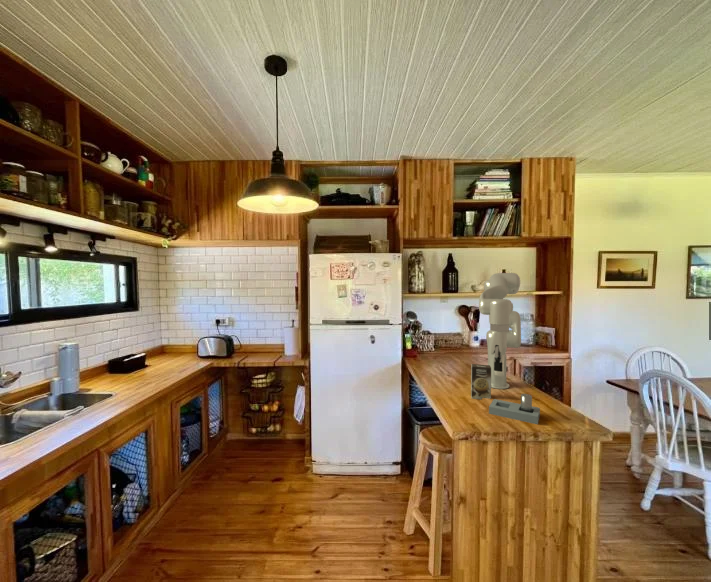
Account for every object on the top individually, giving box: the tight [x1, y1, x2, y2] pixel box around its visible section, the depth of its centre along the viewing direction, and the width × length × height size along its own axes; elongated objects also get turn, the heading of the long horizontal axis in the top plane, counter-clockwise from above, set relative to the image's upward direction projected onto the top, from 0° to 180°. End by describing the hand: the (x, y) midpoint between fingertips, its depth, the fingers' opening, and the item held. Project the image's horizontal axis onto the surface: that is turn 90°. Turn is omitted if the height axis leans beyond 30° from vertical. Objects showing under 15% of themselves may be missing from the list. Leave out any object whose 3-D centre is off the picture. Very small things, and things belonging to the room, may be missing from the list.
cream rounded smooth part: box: [494, 353, 504, 376], centre depth 132 cm, size 4×4×9 cm
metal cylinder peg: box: [520, 393, 533, 413], centre depth 126 cm, size 4×4×9 cm
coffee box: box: [470, 363, 492, 400], centre depth 151 cm, size 9×6×16 cm
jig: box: [488, 398, 541, 425], centre depth 129 cm, size 11×18×4 cm, turn 55°
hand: (499, 369), depth 132 cm, fingers closed on cream rounded smooth part, 4 cm apart
